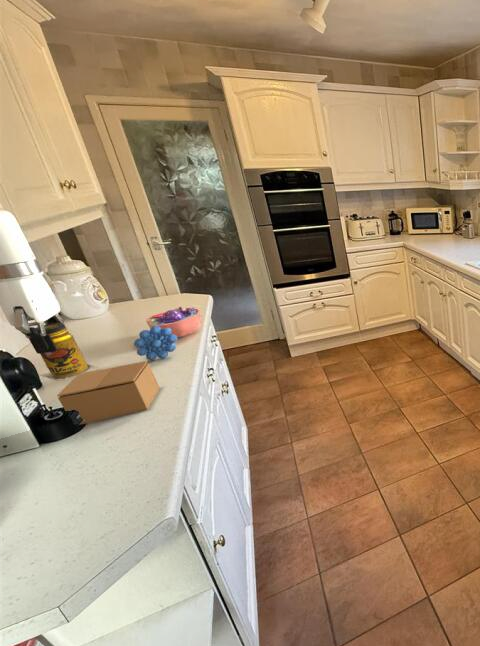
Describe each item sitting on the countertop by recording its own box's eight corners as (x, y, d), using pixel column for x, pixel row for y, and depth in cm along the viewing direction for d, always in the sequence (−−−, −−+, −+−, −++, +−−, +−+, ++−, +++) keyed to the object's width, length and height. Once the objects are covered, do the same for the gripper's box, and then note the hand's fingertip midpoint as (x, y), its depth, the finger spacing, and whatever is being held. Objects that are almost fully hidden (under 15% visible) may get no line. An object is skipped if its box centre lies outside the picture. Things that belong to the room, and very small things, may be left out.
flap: (57, 396, 98) (56, 395, 98) (79, 374, 109) (78, 373, 109) (96, 389, 101) (95, 387, 101) (114, 368, 112) (113, 367, 112)
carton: (74, 426, 102) (56, 395, 98) (93, 401, 112) (78, 373, 109) (147, 409, 108) (133, 380, 104) (159, 387, 119) (147, 360, 115)
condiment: (60, 382, 90) (34, 334, 86) (39, 376, 93) (13, 329, 88) (99, 368, 97) (77, 322, 92) (79, 362, 99) (57, 318, 95)
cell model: (208, 322, 169) (199, 297, 164) (204, 338, 153) (194, 311, 148) (158, 331, 161) (147, 305, 156) (149, 349, 145) (136, 320, 140)
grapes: (184, 349, 144) (172, 319, 139) (183, 356, 139) (170, 324, 134) (143, 358, 138) (129, 326, 133) (140, 365, 133) (125, 333, 128)
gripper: (13, 264, 90) (52, 336, 97) (-40, 282, 76) (10, 365, 83) (58, 260, 93) (92, 330, 100) (15, 277, 79) (58, 357, 86)
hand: (55, 345), depth 91 cm, fingers closed on condiment, 6 cm apart
